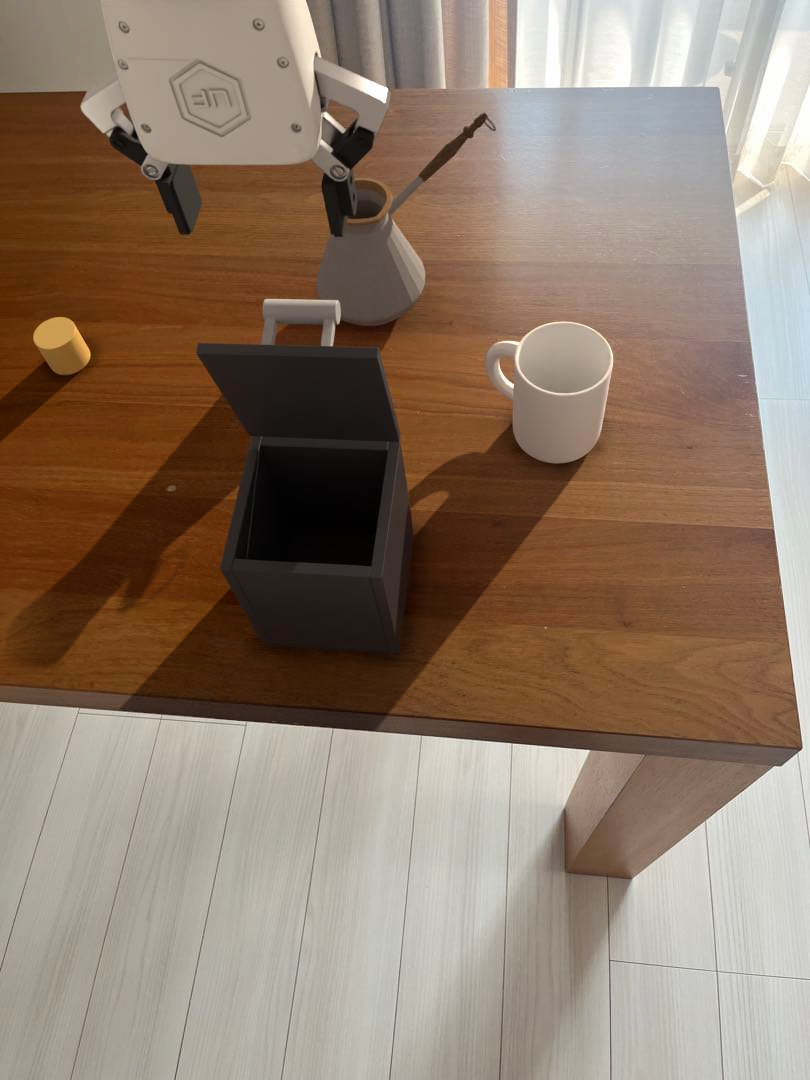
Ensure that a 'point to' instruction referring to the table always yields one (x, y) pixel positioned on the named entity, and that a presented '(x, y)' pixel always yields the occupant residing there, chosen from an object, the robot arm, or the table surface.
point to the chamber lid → (304, 380)
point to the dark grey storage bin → (322, 543)
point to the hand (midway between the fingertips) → (265, 220)
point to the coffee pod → (62, 345)
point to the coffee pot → (379, 250)
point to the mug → (555, 388)
